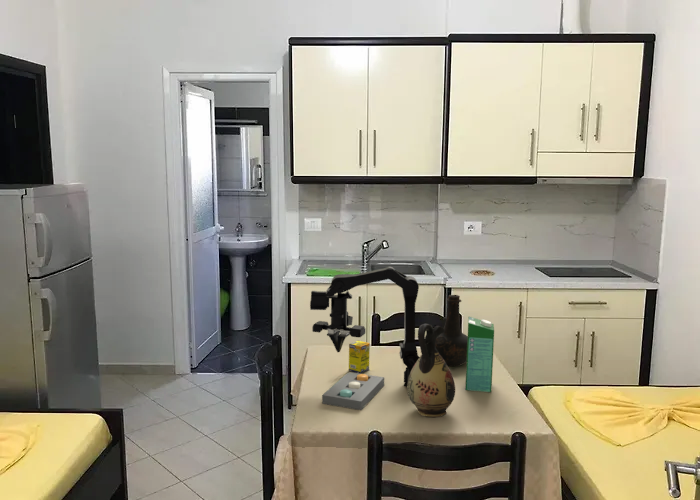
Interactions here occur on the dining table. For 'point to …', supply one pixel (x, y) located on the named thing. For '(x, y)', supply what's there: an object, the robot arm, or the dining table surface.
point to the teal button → (346, 393)
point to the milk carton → (479, 355)
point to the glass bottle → (452, 336)
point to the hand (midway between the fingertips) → (338, 351)
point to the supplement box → (359, 356)
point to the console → (353, 391)
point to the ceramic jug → (430, 376)
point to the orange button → (362, 377)
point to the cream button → (354, 385)
